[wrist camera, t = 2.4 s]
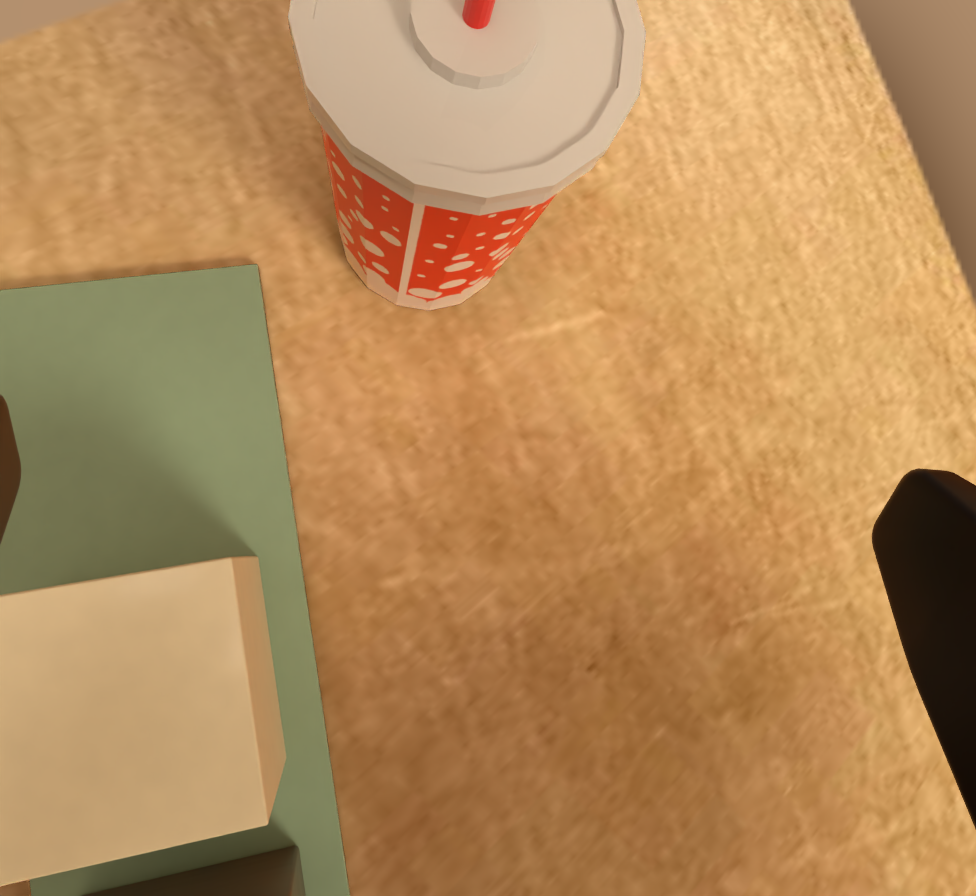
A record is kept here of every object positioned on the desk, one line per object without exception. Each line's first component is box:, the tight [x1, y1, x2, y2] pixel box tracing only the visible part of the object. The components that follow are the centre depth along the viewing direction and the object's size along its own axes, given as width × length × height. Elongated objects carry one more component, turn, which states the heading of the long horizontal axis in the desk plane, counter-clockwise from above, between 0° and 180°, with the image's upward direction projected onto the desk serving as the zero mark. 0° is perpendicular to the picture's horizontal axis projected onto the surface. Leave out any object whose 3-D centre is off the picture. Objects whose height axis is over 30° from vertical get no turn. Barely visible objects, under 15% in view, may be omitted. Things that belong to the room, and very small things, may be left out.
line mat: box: [0, 264, 350, 896], centre depth 20 cm, size 22×7×1 cm, turn 10°
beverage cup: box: [288, 0, 646, 311], centre depth 16 cm, size 6×6×14 cm
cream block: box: [0, 556, 286, 886], centre depth 17 cm, size 5×5×5 cm
